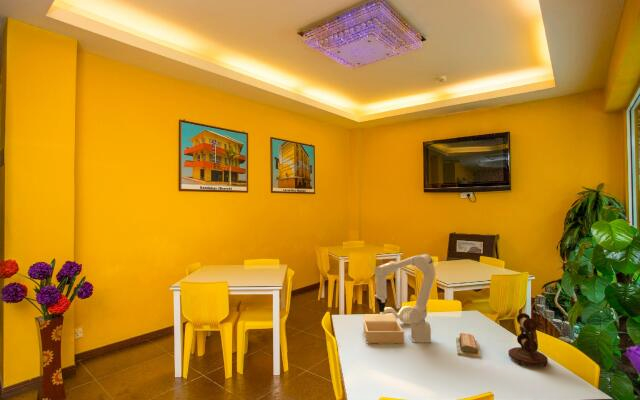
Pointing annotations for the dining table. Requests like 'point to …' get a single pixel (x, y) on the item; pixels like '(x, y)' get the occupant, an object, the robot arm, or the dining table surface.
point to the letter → (400, 313)
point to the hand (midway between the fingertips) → (381, 311)
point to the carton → (383, 332)
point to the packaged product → (467, 346)
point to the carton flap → (379, 318)
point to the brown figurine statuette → (527, 343)
